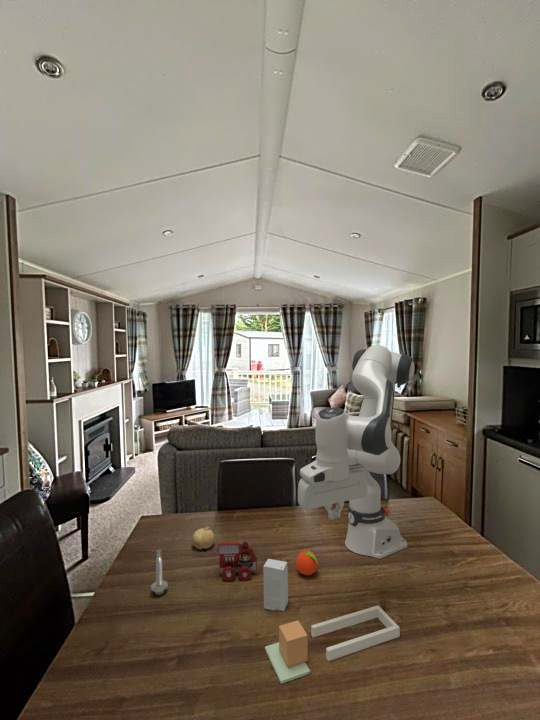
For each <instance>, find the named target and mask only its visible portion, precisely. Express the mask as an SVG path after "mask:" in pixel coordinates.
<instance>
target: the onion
mask: <svg viewBox="0 0 540 720" xmlns="http://www.w3.org/2000/svg"><path fill="white" fill-rule="evenodd" d="M215 537H216V536H215V533H214V532H213V530H211V528H210V527H209V526H208V524H207V525H206V526H205V527H202V528H199V529H197V530H195V532H194V533H193V535H192V537H191V538H192V539H191V542H192V544H193V546H194V547H195V548H196V549H198V550H201V551H202V550H203V549H205V550H207V549H209V548H211V547H212V546H213V545H214V543H215Z"/></svg>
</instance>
